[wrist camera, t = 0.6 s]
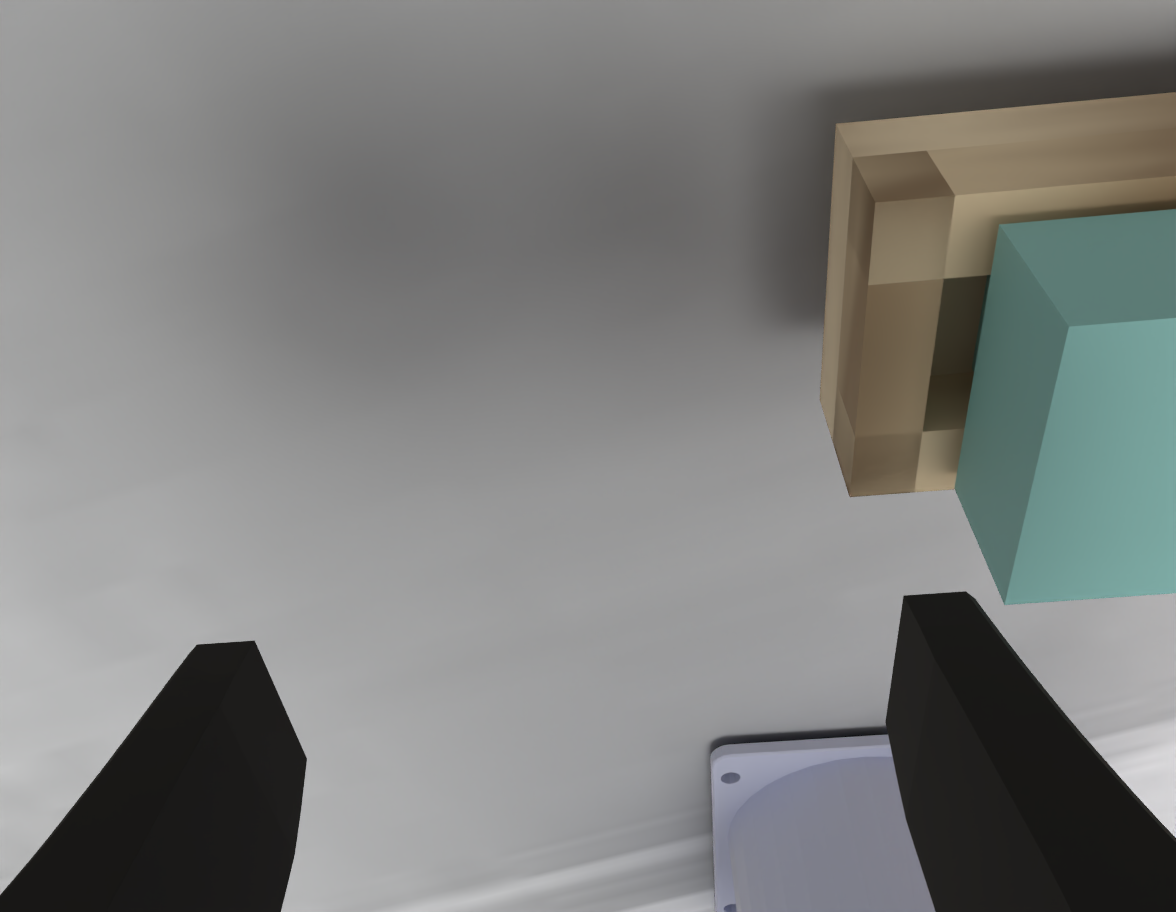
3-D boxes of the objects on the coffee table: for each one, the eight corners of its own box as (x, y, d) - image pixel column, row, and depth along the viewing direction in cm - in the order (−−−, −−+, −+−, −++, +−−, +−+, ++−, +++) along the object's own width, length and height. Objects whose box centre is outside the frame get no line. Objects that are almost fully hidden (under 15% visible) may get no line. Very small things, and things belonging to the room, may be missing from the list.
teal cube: (1269, 150, 14) (1454, 294, 11) (1182, 411, 17) (1311, 583, 14) (966, 176, 14) (1069, 327, 11) (930, 431, 17) (1004, 604, 14)
